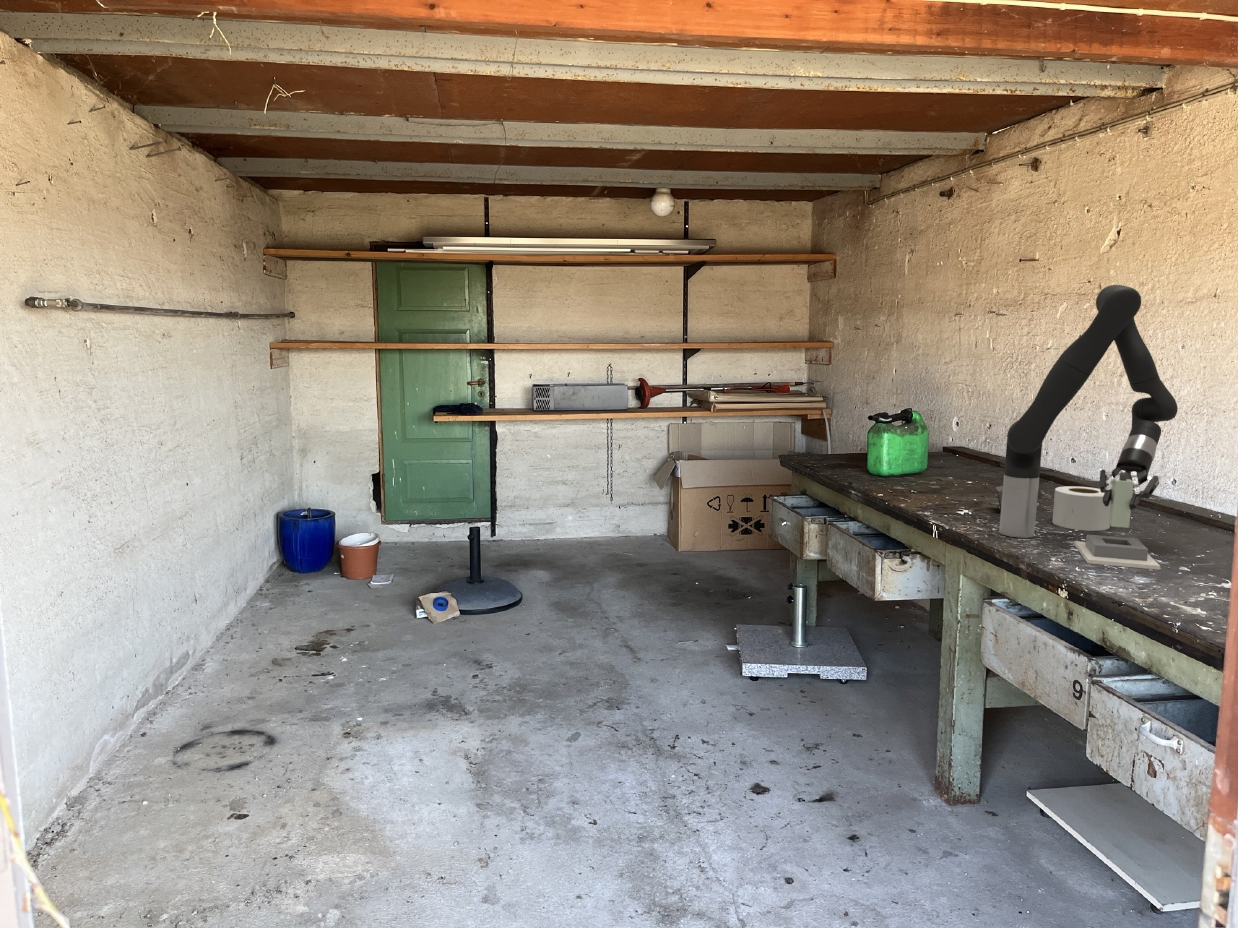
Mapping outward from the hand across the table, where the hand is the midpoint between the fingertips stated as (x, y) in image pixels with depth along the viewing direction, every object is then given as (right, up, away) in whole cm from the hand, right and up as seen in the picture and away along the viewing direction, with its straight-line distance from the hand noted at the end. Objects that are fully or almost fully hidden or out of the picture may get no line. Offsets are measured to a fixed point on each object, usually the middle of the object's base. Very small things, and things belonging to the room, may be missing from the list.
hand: (1118, 506), depth 223 cm
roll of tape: (+11, -8, +40) cm, 42 cm away
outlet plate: (+1, -13, +4) cm, 14 cm away
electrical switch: (-4, -5, +56) cm, 57 cm away
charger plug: (+1, -5, +2) cm, 6 cm away
